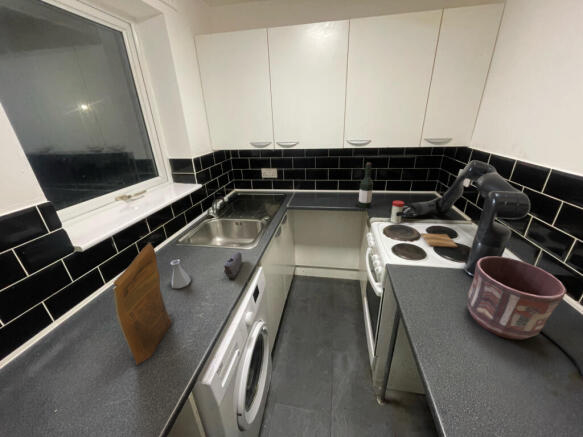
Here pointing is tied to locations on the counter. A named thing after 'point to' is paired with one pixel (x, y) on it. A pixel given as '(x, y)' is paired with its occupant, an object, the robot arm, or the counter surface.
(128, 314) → the pancake mix bag
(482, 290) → the pottery
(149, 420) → the counter surface
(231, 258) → the perforated stone tool
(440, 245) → the wooden trivet
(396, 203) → the jam lid
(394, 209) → the jam jar
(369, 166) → the wine bottle
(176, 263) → the flask
